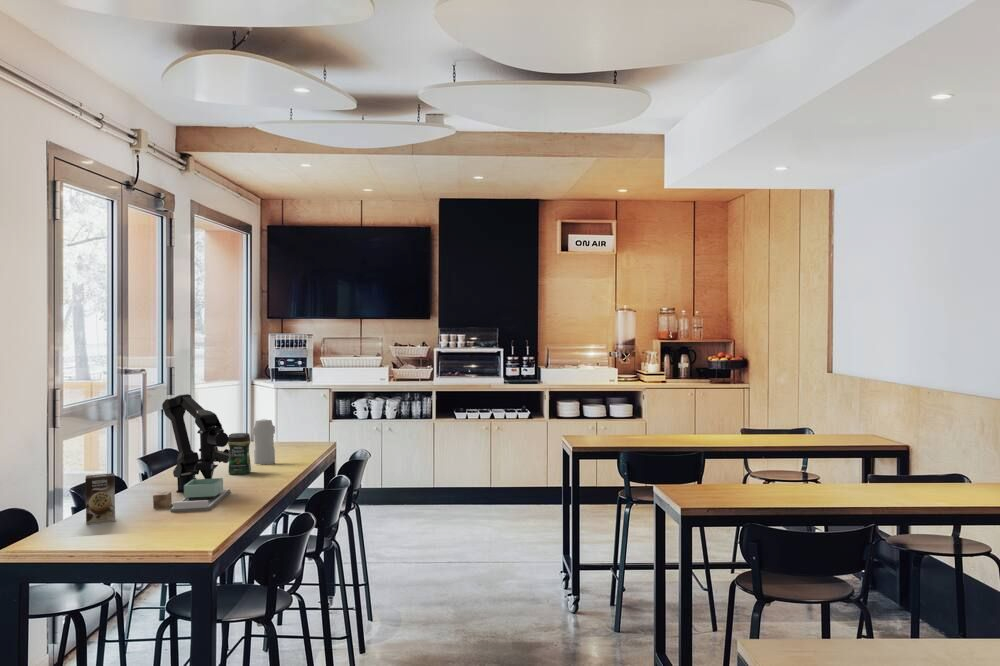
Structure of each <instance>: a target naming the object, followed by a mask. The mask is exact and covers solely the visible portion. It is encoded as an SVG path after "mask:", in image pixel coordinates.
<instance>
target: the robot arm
mask: <svg viewBox="0 0 1000 666" xmlns="http://www.w3.org/2000/svg"><path fill="white" fill-rule="evenodd" d="M161 405H162V406H161V407H162V411H163V412H164V416H165V417H166V418H168V420H170V422H171V427H172V431H173V434H174V439H175V443H176V447H177V450H178V455H177V458H176V465H175V467H174V469H173V471H172V474H173V477H174V478H177V490H176V493H184V485H185V484H187V483H188V482H190V481H191V480H193V479H198V478H196V475H199V474H200V472H201V475H202V476H203V479H213V476H214V471H215V469H216V468H217V467H218V466H219V464H216V462H217V463H224V464H229V460H230V457H231V453H230V449H227V448H225V449H224V450H219V448H224V447H226V446H227V445H228V441H229V434H227V433H226V432H225V430H224V429H223V425H222V423H221V422H220V419H219V417H218V415H217V414H216V413H215V412H213V411H211V410H207V409H204V408H203V407H202V406H201V405H200V404H199V403H198V402H197V401H196V400H195V399H193V398H192V395H191V394H189V393H187V394H179V395H176V396H174V397H172V398H166V399H165V400H164V401H163V403H162V404H161ZM186 412H188V413H189V414H190V416H192V417H193V418H194V424H195V425H196V426H197V427H198V431H197V434H199V439H200V440H199V442H200V443H199V444H200V445H199V446H200V448H198V451H199V452H200V458H199V454H198V452H196V451H193V449H192V447H191V443H190V439H189V435H188V429H187V426H186V422H185V418H184V416H185V414H186Z"/></svg>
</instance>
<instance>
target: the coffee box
mask: <svg viewBox="0 0 1000 666" xmlns="http://www.w3.org/2000/svg"><path fill="white" fill-rule="evenodd" d="M84 480H85V524H86V525H93V524H100V523H102V524H103V523H109V522H116V504H115V503H116V502H115V501H116V497H115V494H116V491H115V490H116V488H115V486H116V485H115V473H114V472H111V473H102V474H101V473H100V474H90V475H89V474H88V475H85V479H84Z"/></svg>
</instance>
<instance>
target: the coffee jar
mask: <svg viewBox="0 0 1000 666" xmlns="http://www.w3.org/2000/svg"><path fill="white" fill-rule="evenodd" d="M228 437H229V441H228V443H227V445H228V447H229V450H230V453H231V457H230V460H229V462H228V474H229V475H233V474H239V475H246V474H249V473H251V471H252V464H251V457H250V444H251V436H250V433H248V432H238V433H237V432H236V433H235V432H233V433H230V434H228Z"/></svg>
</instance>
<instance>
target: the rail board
mask: <svg viewBox="0 0 1000 666" xmlns="http://www.w3.org/2000/svg"><path fill="white" fill-rule="evenodd" d="M230 493H231V489H230V488H228V487H227V489H223V490H222V491H221V492H220V493H219V494H218V495H216V496H214V499H212V498H211V496H208V497H192V499H191V500H189V497H188V498H183V499H182V500H180V501H174V502H172V503H173V506H172V507H171V508H170V512H171V513H178V512H196V511H201V512H202V511H211V510H212V509H213V508H215V507H216V506H217V505H218V504H219V503H220V502H221V501H222V500H223V499H224V498H225V497H226V496H228V495H229V494H230Z"/></svg>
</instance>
